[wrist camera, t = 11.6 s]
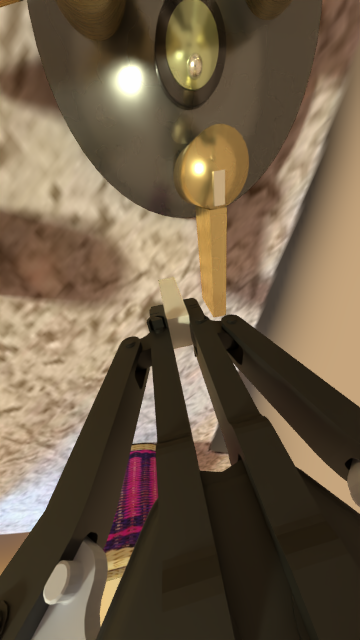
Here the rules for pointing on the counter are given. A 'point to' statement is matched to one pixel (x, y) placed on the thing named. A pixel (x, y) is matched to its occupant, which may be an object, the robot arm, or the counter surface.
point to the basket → (132, 508)
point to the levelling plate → (177, 86)
